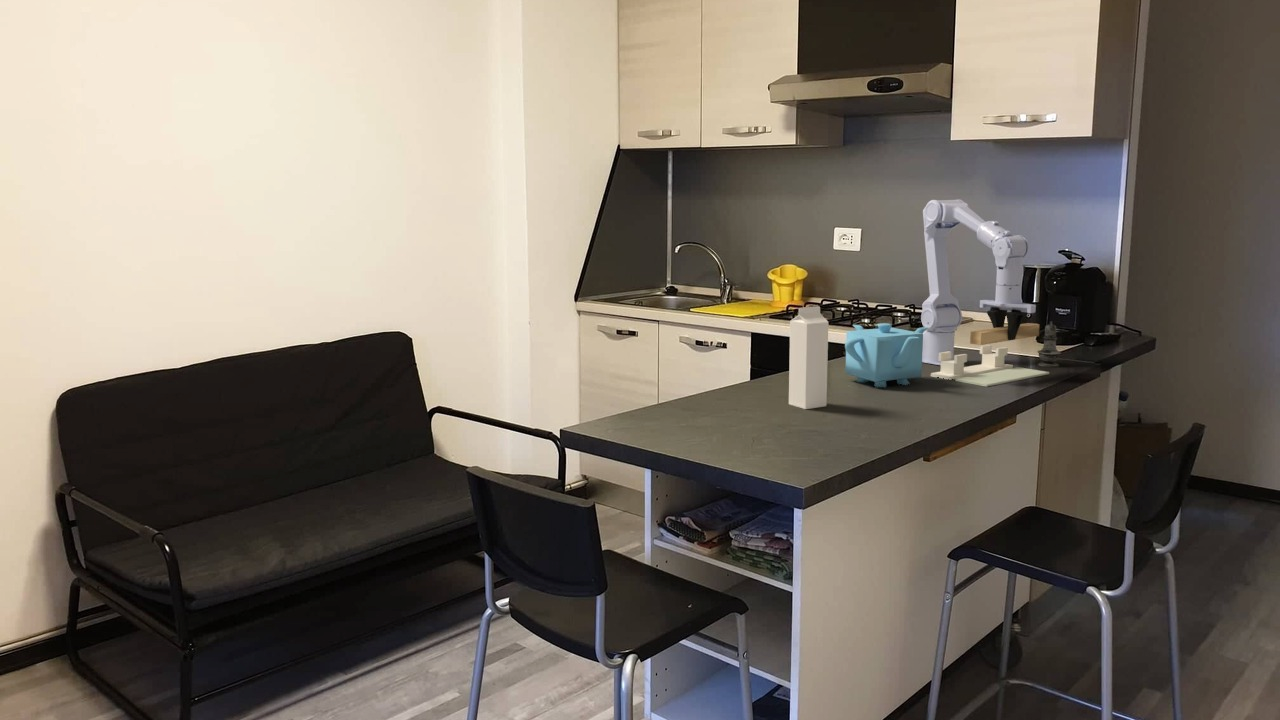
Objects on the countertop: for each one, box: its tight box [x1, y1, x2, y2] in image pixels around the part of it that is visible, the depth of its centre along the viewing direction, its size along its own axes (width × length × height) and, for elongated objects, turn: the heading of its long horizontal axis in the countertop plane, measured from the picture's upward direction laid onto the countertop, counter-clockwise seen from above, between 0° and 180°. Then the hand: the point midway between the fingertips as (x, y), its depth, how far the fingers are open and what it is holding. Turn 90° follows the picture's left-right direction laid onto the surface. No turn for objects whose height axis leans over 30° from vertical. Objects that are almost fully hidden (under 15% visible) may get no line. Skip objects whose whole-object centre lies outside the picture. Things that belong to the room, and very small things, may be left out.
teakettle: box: [844, 322, 929, 388], centre depth 238 cm, size 19×19×15 cm
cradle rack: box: [930, 344, 1014, 381], centre depth 250 cm, size 6×26×6 cm, turn 125°
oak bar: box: [969, 322, 1040, 346], centre depth 241 cm, size 3×24×3 cm, turn 125°
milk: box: [788, 305, 829, 410], centre depth 212 cm, size 6×6×22 cm
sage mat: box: [954, 366, 1050, 387], centre depth 243 cm, size 9×26×1 cm, turn 125°
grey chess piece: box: [1037, 320, 1062, 368], centre depth 258 cm, size 6×6×12 cm
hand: (1005, 338), depth 242 cm, fingers closed on oak bar, 3 cm apart
